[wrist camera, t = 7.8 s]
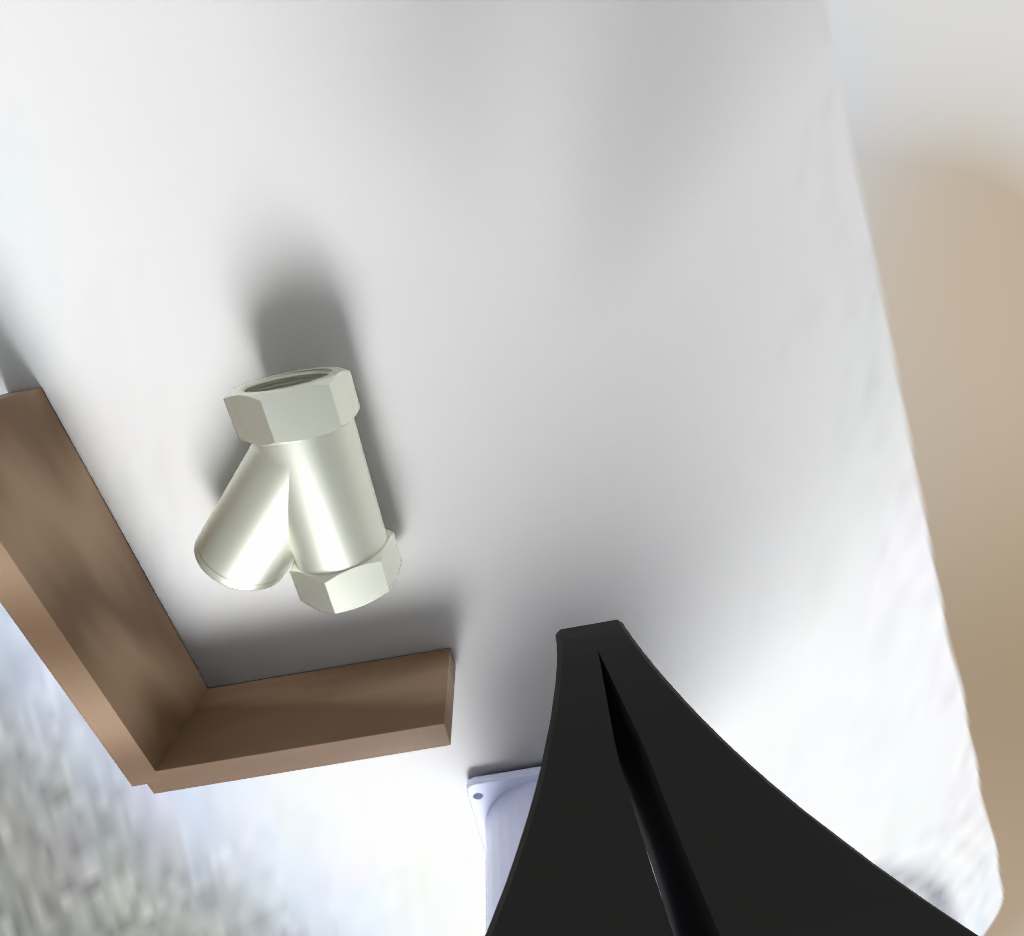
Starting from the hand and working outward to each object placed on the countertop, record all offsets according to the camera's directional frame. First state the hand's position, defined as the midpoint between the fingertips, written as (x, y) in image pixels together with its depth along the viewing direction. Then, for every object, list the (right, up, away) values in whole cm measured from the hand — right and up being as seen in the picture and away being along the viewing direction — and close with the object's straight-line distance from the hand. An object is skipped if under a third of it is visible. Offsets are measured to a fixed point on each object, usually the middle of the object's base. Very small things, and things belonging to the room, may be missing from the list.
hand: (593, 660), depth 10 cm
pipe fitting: (-10, +4, +9) cm, 14 cm away
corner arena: (-12, +1, +10) cm, 15 cm away
